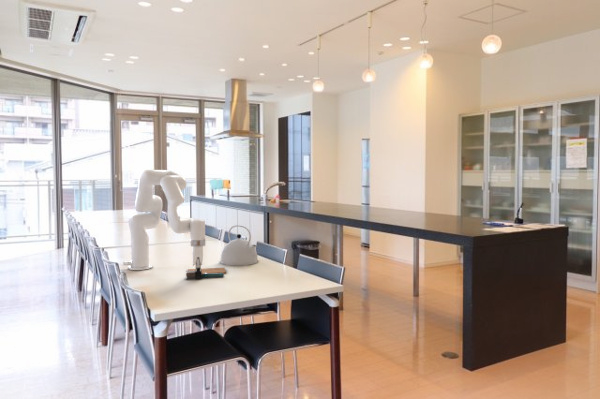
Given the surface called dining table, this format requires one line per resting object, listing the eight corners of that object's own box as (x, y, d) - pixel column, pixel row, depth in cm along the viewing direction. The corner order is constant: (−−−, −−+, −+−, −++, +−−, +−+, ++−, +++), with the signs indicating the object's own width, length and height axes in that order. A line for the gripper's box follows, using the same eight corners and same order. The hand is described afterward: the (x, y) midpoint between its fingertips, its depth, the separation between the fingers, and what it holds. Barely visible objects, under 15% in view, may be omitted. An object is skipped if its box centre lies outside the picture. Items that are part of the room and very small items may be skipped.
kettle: (268, 261, 284) (267, 225, 283) (243, 267, 265) (243, 228, 264) (237, 257, 298) (237, 222, 297) (212, 262, 280) (212, 226, 278)
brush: (186, 279, 235) (186, 272, 235) (186, 277, 239) (186, 271, 239) (224, 277, 239) (224, 271, 239) (223, 275, 243) (223, 269, 243)
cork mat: (187, 275, 245) (187, 273, 245) (188, 270, 257) (188, 269, 256) (225, 273, 249) (225, 272, 249) (224, 269, 261) (224, 267, 261)
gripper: (190, 240, 245) (191, 274, 246) (190, 245, 228) (190, 281, 229) (205, 240, 246) (205, 274, 247) (205, 245, 230) (206, 281, 231)
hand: (198, 277), depth 238 cm, fingers closed on brush, 4 cm apart
